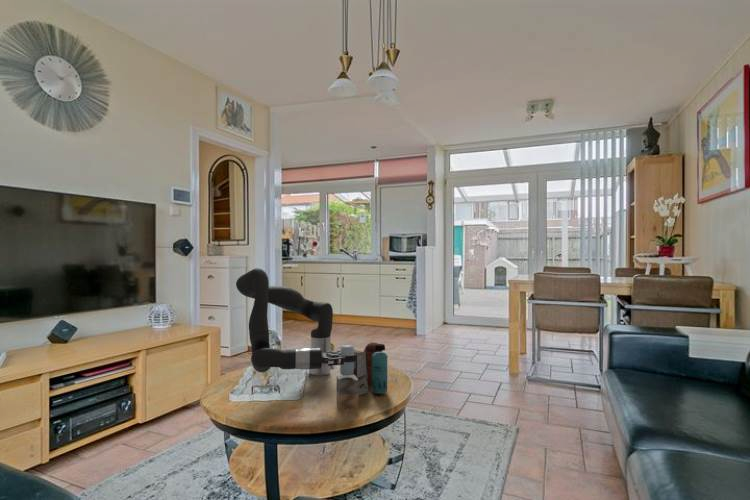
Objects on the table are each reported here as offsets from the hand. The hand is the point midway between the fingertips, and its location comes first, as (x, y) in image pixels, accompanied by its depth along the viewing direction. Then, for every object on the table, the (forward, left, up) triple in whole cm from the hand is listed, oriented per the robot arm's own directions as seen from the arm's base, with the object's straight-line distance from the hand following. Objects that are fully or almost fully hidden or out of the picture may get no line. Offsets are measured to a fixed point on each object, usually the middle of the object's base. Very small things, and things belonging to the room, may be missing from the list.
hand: (354, 356), depth 155 cm
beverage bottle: (+2, +14, -18) cm, 23 cm away
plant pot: (-47, +37, -18) cm, 62 cm away
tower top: (-2, -2, -13) cm, 13 cm away
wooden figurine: (-7, +23, -18) cm, 30 cm away
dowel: (-2, -2, -6) cm, 7 cm away
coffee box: (-8, +11, -18) cm, 22 cm away
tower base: (-2, -2, -18) cm, 18 cm away
